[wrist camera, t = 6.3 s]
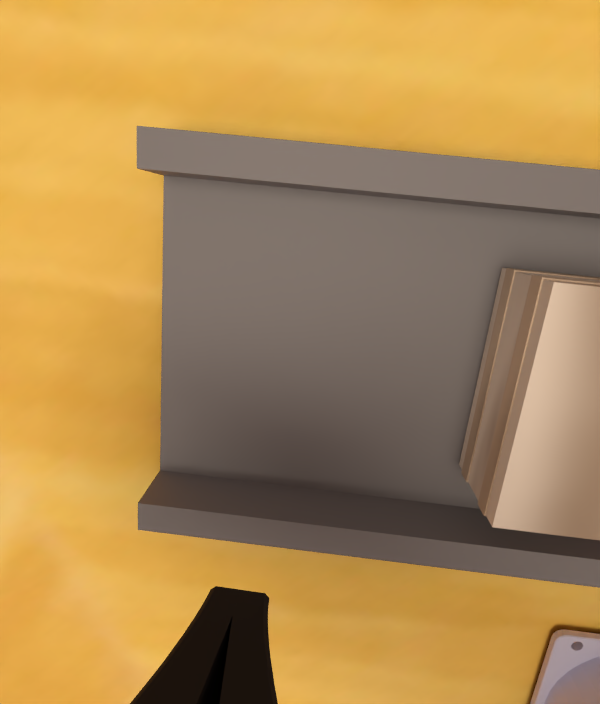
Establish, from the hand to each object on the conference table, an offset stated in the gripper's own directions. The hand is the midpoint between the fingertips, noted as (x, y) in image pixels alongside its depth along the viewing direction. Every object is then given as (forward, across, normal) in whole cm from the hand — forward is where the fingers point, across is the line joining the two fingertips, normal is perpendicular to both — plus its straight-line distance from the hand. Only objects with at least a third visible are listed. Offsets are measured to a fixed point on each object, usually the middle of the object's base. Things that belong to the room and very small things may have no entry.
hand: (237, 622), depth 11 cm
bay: (+9, -6, -5) cm, 12 cm away
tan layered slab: (+9, -10, -5) cm, 15 cm away
